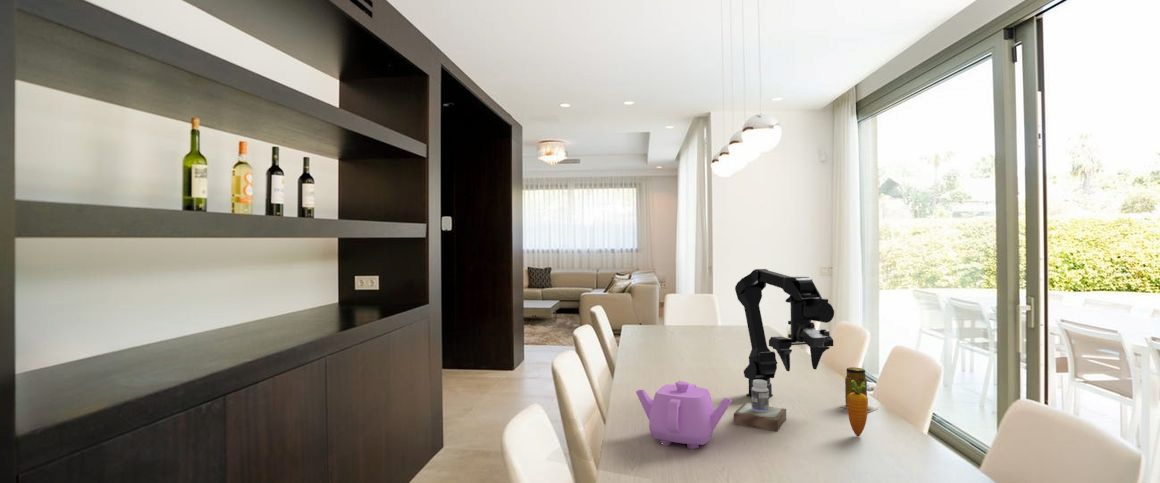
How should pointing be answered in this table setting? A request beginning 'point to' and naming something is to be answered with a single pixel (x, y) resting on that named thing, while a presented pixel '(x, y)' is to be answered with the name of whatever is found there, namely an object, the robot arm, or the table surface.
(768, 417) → the pedestal
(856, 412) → the carrot
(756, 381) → the pill bottle
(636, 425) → the table surface
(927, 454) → the table surface
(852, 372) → the condiment
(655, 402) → the teapot
